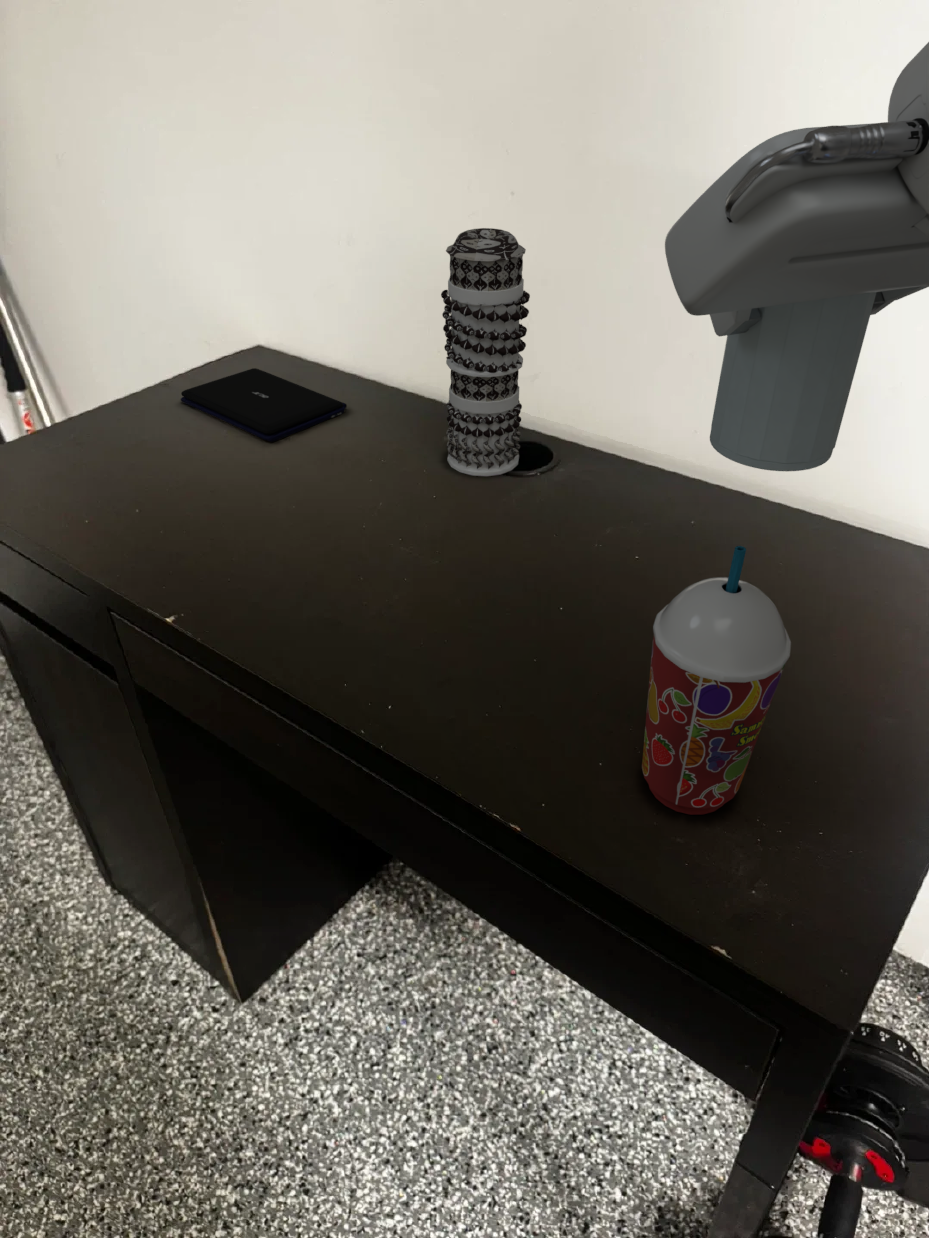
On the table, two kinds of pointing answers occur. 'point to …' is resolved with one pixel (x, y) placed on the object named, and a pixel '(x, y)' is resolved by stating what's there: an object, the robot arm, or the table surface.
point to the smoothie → (710, 689)
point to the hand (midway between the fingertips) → (791, 312)
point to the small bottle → (789, 383)
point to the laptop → (263, 404)
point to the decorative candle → (484, 350)
